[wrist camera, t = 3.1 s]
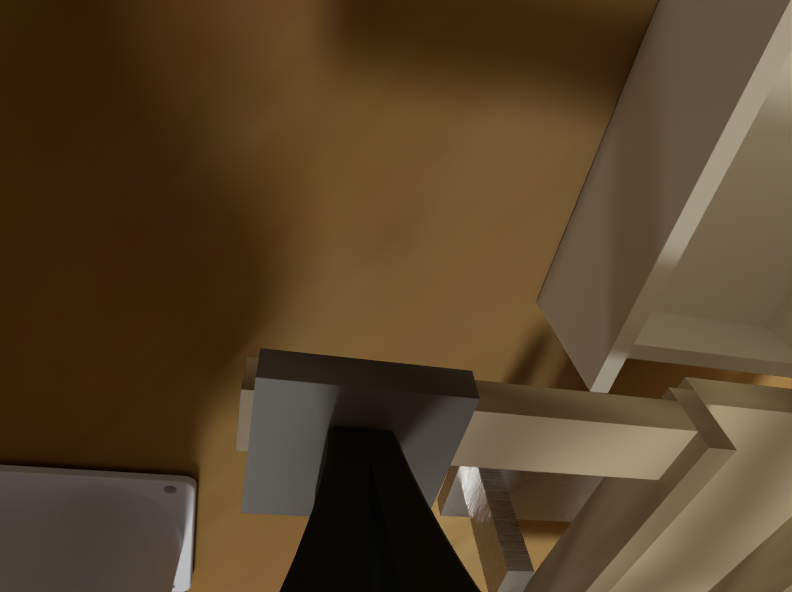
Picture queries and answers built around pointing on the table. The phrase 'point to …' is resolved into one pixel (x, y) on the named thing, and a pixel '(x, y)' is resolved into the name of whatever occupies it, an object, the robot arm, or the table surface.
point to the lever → (554, 462)
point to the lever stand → (510, 513)
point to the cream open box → (687, 203)
